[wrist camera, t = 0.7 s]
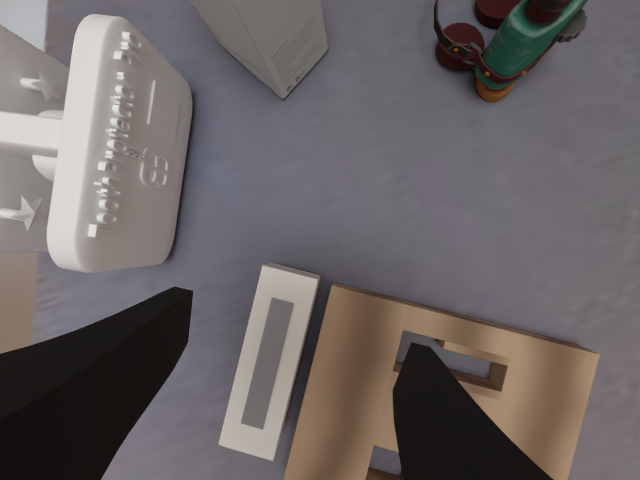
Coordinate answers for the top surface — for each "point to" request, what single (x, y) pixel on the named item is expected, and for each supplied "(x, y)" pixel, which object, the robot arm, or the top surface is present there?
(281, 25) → the skincare box
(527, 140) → the top surface
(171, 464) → the top surface
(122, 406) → the robot arm
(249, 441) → the white rectangular block
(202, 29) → the top surface
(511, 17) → the binoculars
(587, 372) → the keyhole board
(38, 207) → the white rounded box
